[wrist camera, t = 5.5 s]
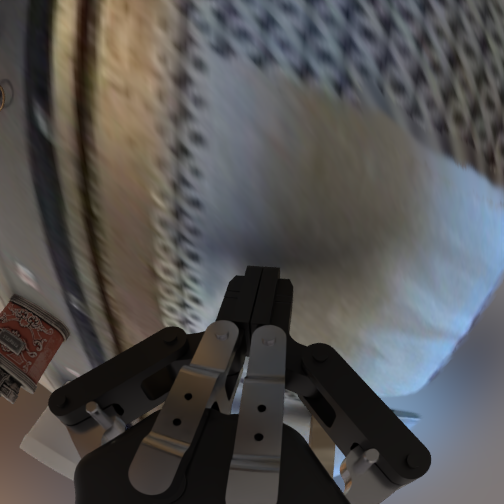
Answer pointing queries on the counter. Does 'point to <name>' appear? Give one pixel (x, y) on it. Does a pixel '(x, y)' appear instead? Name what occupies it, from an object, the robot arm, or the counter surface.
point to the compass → (3, 97)
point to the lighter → (26, 345)
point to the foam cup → (52, 444)
